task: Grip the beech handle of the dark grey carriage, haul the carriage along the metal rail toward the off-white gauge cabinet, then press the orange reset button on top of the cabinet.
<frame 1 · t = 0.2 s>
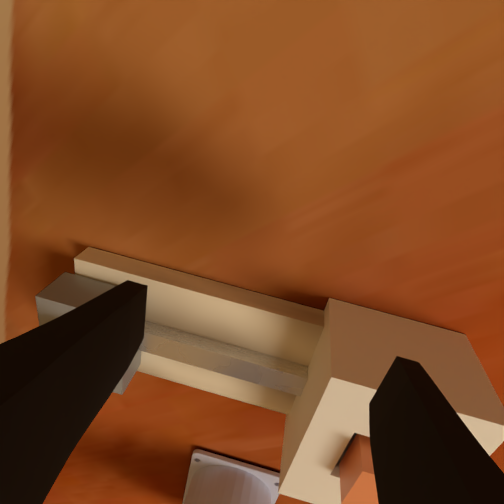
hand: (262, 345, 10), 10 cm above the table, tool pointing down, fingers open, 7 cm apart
reset button: (379, 475, 17), point 6 cm above the table, slide at 0.0 cm
gauge cabinet: (365, 374, 23), on the table
carriage: (76, 354, 20), point 5 cm above the table, slide at 0.0 cm
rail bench: (196, 326, 24), on the table
rail: (186, 347, 22), on the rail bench, point 2 cm above the table
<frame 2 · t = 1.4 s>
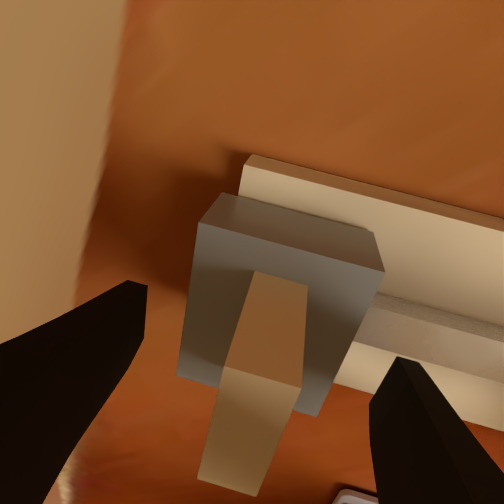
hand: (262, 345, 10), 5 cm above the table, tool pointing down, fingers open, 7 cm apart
carriage: (262, 343, 10), point 5 cm above the table, slide at 0.0 cm
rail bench: (413, 300, 14), on the table
rail: (426, 333, 12), on the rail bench, point 2 cm above the table
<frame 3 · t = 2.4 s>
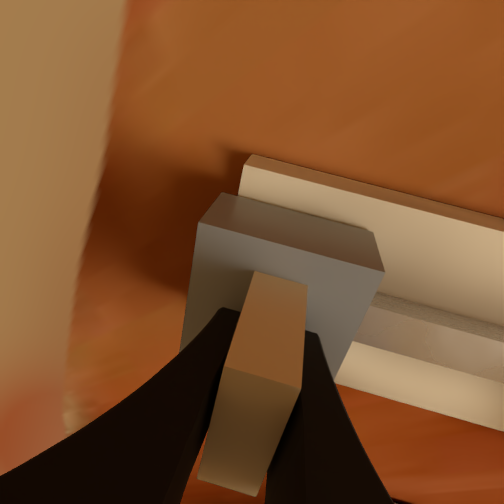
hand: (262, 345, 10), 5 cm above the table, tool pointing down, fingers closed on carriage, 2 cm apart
carriage: (262, 343, 10), point 5 cm above the table, slide at 0.0 cm, touching gripper
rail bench: (413, 300, 14), on the table
rail: (426, 333, 12), on the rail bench, point 2 cm above the table
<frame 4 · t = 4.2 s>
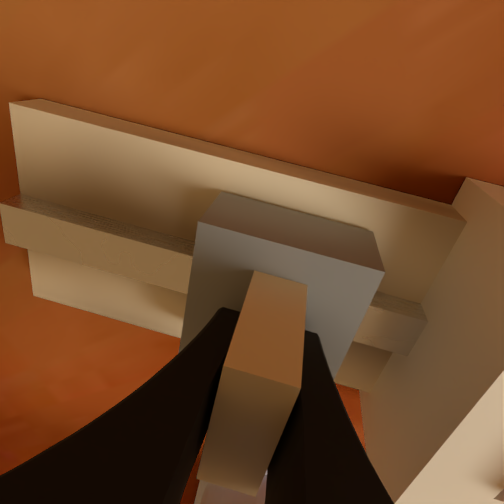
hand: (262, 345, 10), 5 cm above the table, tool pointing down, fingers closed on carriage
gauge cabinet: (503, 324, 14), on the table
carriage: (262, 343, 10), point 5 cm above the table, slide at 7.9 cm, touching gripper
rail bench: (221, 247, 14), on the table
rail: (207, 272, 13), on the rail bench, point 2 cm above the table
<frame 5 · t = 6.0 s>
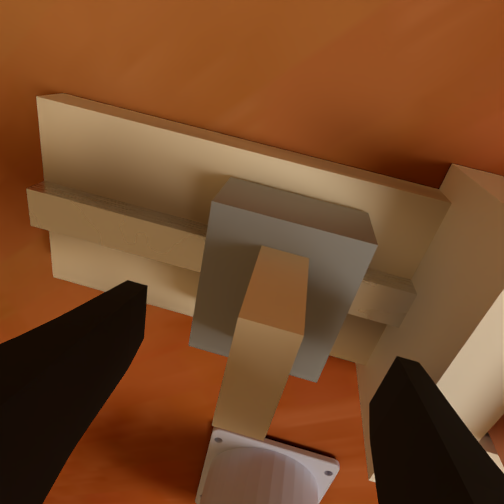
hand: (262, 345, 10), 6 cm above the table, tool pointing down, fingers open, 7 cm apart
gauge cabinet: (488, 300, 15), on the table
carriage: (268, 311, 11), point 5 cm above the table, slide at 8.0 cm
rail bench: (228, 230, 16), on the table
rail: (216, 251, 14), on the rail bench, point 2 cm above the table
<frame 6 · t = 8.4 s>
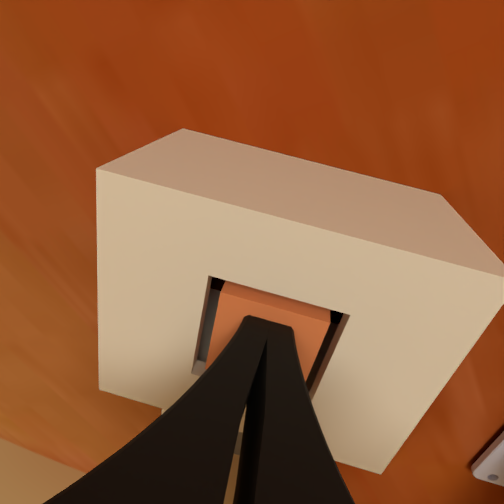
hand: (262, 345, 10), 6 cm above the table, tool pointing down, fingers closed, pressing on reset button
reset button: (267, 325, 11), point 5 cm above the table, slide at 1.5 cm, touching gripper
gauge cabinet: (283, 250, 15), on the table
carriage: (222, 472, 16), point 5 cm above the table, slide at 8.0 cm
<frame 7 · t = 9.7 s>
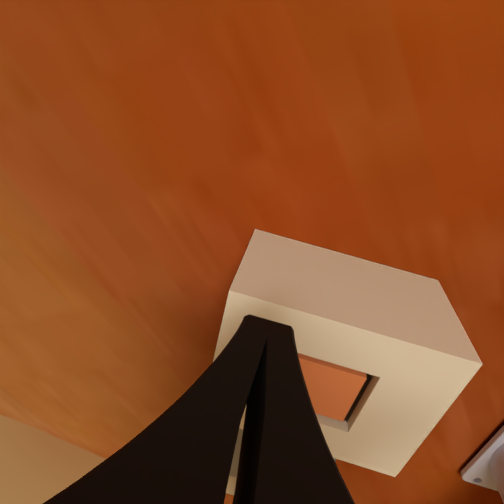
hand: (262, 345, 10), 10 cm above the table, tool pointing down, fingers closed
reset button: (321, 373, 17), point 5 cm above the table, slide at 1.7 cm
gauge cabinet: (322, 311, 21), on the table
carriage: (274, 474, 21), point 5 cm above the table, slide at 8.0 cm
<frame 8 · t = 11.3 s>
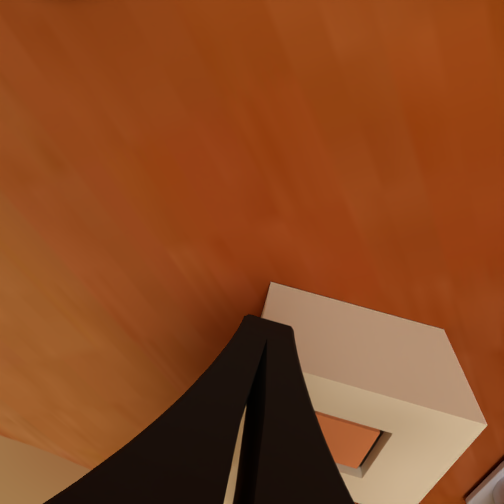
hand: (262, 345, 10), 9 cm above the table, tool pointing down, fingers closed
reset button: (336, 424, 18), point 5 cm above the table, slide at 1.7 cm
gauge cabinet: (333, 354, 22), on the table
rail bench: (286, 458, 28), on the table
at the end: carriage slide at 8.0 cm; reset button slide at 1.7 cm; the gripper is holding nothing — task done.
